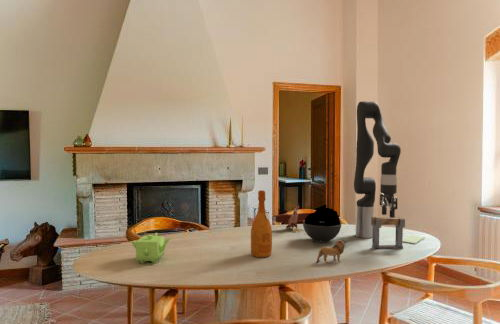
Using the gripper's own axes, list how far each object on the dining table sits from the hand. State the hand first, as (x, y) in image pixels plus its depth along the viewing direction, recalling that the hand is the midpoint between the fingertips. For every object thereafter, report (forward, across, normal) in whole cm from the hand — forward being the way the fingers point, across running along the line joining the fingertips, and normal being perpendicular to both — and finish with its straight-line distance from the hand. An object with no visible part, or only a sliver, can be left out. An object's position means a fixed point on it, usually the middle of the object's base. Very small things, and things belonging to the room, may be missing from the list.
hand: (388, 216), depth 184 cm
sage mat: (+16, +15, -21) cm, 30 cm away
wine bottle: (+16, -8, +64) cm, 67 cm away
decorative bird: (+16, +41, +39) cm, 59 cm away
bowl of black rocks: (+16, +15, +29) cm, 37 cm away
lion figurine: (+16, -19, +35) cm, 43 cm away
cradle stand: (+16, 0, 0) cm, 16 cm away
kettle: (+16, -12, +113) cm, 115 cm away
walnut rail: (+4, 0, 0) cm, 4 cm away
